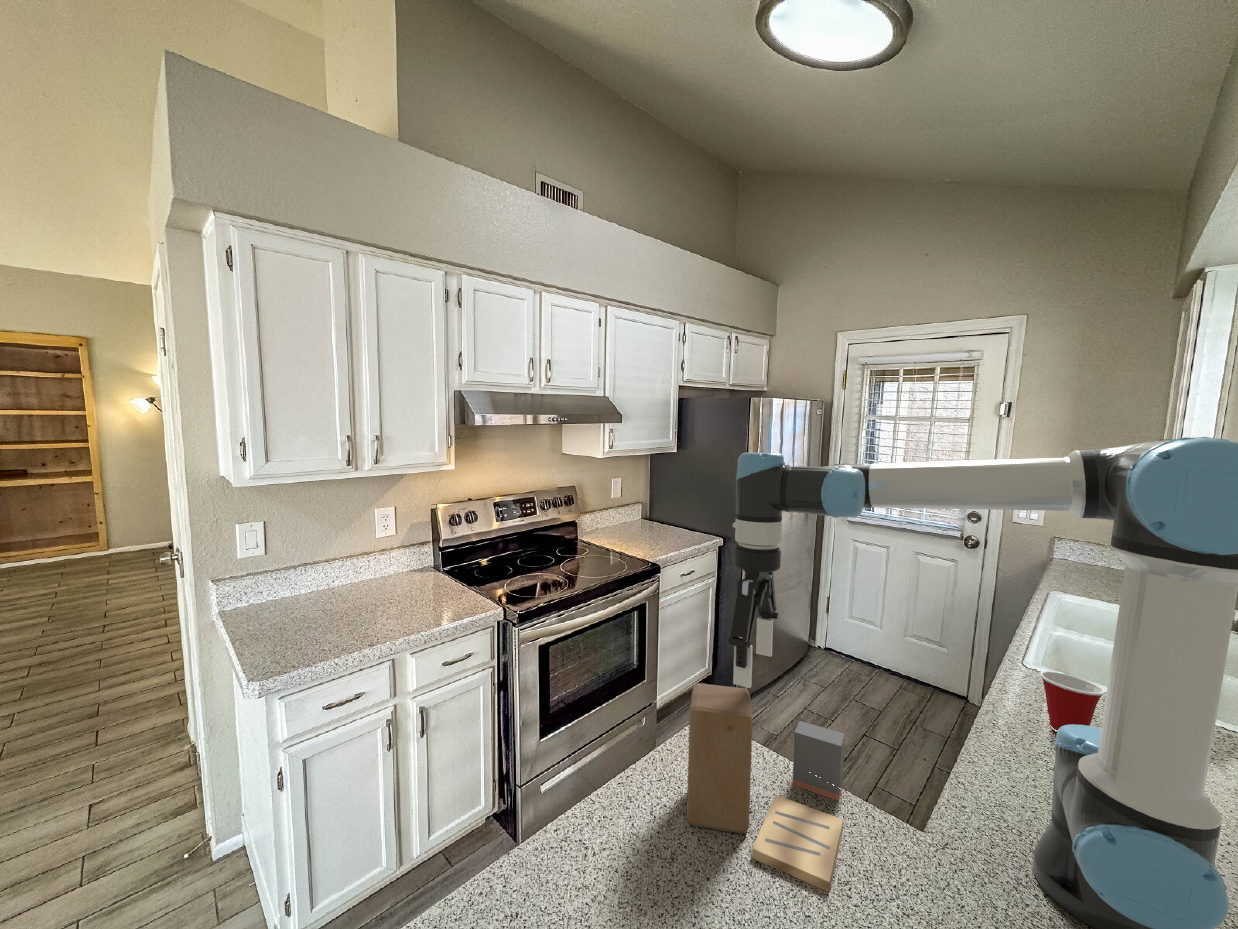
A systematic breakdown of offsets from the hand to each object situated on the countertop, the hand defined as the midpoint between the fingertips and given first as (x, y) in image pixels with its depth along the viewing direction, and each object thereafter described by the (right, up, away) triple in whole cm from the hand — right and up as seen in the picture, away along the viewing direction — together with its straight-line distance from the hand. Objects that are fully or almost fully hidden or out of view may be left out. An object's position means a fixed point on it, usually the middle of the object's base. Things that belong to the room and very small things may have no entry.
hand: (753, 669), depth 86 cm
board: (+6, -25, -5) cm, 27 cm away
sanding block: (+14, -25, +8) cm, 30 cm away
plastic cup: (+77, -25, +27) cm, 86 cm away
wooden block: (-6, -25, +1) cm, 26 cm away
